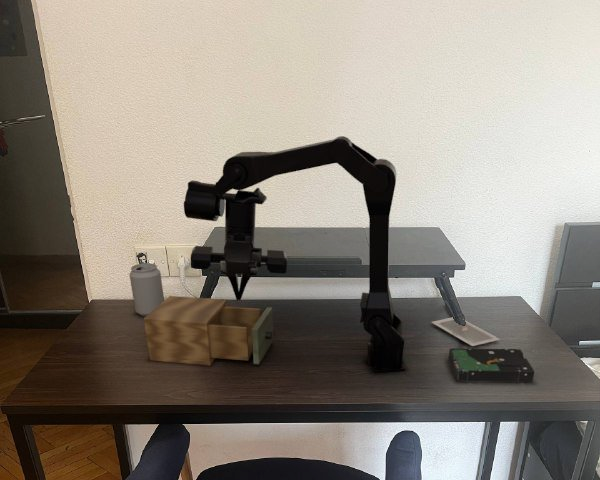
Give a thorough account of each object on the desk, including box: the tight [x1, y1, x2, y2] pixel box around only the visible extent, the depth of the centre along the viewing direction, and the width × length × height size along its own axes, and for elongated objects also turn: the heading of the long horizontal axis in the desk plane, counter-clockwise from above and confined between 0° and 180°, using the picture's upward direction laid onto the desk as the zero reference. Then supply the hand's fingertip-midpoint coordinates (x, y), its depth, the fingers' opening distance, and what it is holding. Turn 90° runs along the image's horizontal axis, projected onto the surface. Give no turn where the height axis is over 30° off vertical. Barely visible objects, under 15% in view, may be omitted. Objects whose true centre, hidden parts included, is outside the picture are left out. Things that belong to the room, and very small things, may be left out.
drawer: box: [208, 306, 274, 365], centre depth 124 cm, size 14×12×8 cm
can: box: [128, 262, 165, 317], centre depth 145 cm, size 8×8×12 cm
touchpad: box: [430, 316, 501, 347], centre depth 133 cm, size 8×15×2 cm, turn 25°
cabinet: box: [143, 295, 228, 366], centre depth 126 cm, size 14×14×10 cm
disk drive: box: [448, 347, 535, 383], centre depth 117 cm, size 10×3×15 cm
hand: (238, 299), depth 119 cm, fingers closed
